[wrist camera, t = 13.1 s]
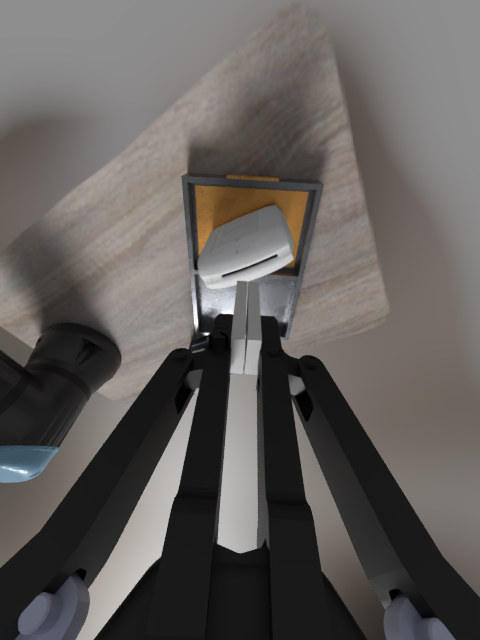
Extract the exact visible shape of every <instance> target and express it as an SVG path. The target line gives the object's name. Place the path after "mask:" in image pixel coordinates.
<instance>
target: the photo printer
mask: <svg viewBox="0 0 480 640" xmlns="http://www.w3.org/2000/svg"><path fill="white" fill-rule="evenodd" d="M293 250H294V241H293V237H292V235H291V232H290V229H289V227H288V224H287V221H286V219H285V216H284V214H283V212H282V210H281V209H280V208H278V207H277V205H270V206H267V207H264V208H261V209H258V210H256V211H253V212H251V213H249V214H246V215H244V216H241V217H239V218H237V219H234V220H232V221H230V222H228V223H225V224H223V225H221V226H219V227H217V228H216V229H214V230H213V231H212V232H211V233H210V235H209V237H208V239H207V241H206V244H205V246H204V248H203V250H202V252H201V254H200V256H199V258H198V270H199V274H200V277H201V278H202V279H203V281H204V283H205V285H206V286H207V287H208V288H210V289H221V288H226V287H231V286H235V285H237V281H247V282H248V281H251V280H254V279H257V278H260V277H262V276H265V275H267V274H269V273H272V272H274V271H276V270H278V269H280V268H282V267H284V266H285V265H287V264H288V263H290V262H291V261H293V259H294V258H293V255H292V253H293Z"/></svg>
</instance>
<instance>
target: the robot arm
mask: <svg viewBox="0 0 480 640" xmlns="http://www.w3.org/2000/svg"><path fill="white" fill-rule="evenodd" d="M246 302H247V311H246ZM245 332H246V343H245ZM206 338H207V348H206V349H205V350H203V351H200V352H196V353H192V352H191V351H190V350H188V349H186V348H179V349H175V350H173V351H172V352H171V353H170V354H169V355H168V356H167V358H166V359H165V360H164V362H163V363H162V365H161V366H160V367H159V369H158V370H157V371H156V373H155V374H154V376H153V377H152V378H151V380H150V381H149V382H148V384H147V385H146V387H145V388H144V389H143V391H142V392H141V393H140V395H139V396H138V397H137V399H136V400H135V402H134V403H133V404H132V406H131V407H130V409H129V410H128V411H127V413H126V414H125V415H124V417H123V418H122V420H121V421H120V422H119V424H118V425H117V426H116V428H115V429H114V430H113V432H112V433H111V435H110V436H109V437H108V439H107V440H106V441H105V443H104V444H103V446H102V447H101V448H100V450H99V451H98V453H97V454H96V455H95V456H94V458H93V459H92V461H91V462H90V463H89V465H88V466H87V468H86V469H85V470H84V472H83V473H82V474H81V476H80V477H79V478H78V480H77V481H76V483H75V484H74V485H73V487H72V488H71V489H70V491H69V492H68V494H67V495H66V496H65V498H64V499H63V500H62V502H61V503H60V504H59V506H58V507H57V509H56V510H55V511H54V513H53V514H52V516H51V517H50V518H49V520H48V521H47V522H46V524H45V525H44V526H43V528H42V529H41V531H40V532H39V533H38V534H36V535H35V536H34V537H33V538H32V539H31V540H30V541H29V542H28V543H27V544H26V545H25V546H24V547H22V548H21V549H20V550H19V551H18V552H17V553H16V554H15V555H14V556H13V557H12V558H11V559H10V560H9V561H8V562H6V563H5V564H4V565H3V566H2V567H1V568H0V640H75V639H76V638H77V636H78V634H79V632H80V630H81V628H82V626H83V625H84V623H85V620H86V617H87V614H88V610H89V605H90V597H89V592H88V588H89V587H90V585H91V584H92V583H93V581H94V579H95V578H96V577H97V575H98V574H99V572H100V571H101V569H102V568H103V566H104V565H105V563H106V562H107V560H108V558H109V556H110V554H111V553H112V551H113V549H114V547H115V545H116V544H117V542H118V540H119V538H120V536H121V534H122V532H123V530H124V528H125V526H126V524H127V522H128V520H129V518H130V516H131V514H132V513H133V511H134V509H135V507H136V505H137V503H138V501H139V499H140V497H141V495H142V493H143V491H144V489H145V487H146V485H147V483H148V482H149V480H150V478H151V476H152V474H153V472H154V470H155V468H156V466H157V464H158V462H159V460H160V458H161V456H162V454H163V452H164V450H165V448H166V447H167V445H168V443H169V441H170V439H171V437H172V435H173V433H174V431H175V429H176V427H177V425H178V423H179V421H180V419H181V417H182V415H183V413H184V411H185V409H186V408H187V406H188V404H189V402H190V400H191V398H192V396H193V394H194V392H195V390H196V389H197V388H199V391H198V396H197V401H196V406H195V411H194V416H193V421H192V426H191V431H190V436H189V441H188V446H187V451H186V456H185V461H184V465H183V470H182V475H181V480H180V486H179V490H178V493H177V495H176V497H175V498H174V501H173V504H172V509H171V513H170V518H169V523H168V527H167V532H166V537H165V541H164V546H163V551H162V556H161V557H160V558H159V559H158V560H157V561H156V562H155V563H154V564H153V565H152V566H151V567H150V568H149V569H148V570H147V571H146V572H145V574H144V575H143V577H142V578H141V579H140V580H139V581H138V583H137V584H136V585H135V587H134V588H133V589H132V591H131V592H130V593H129V595H128V596H127V597H126V599H125V600H124V601H123V602H122V604H121V605H120V606H119V608H118V609H117V610H116V611H115V613H114V614H113V615H112V617H111V618H110V619H109V620H108V622H107V623H106V624H105V626H104V627H103V629H102V630H101V631H100V632H99V633H98V635H97V636H96V637H95V639H94V640H368V639H367V638H366V636H365V635H364V633H363V632H362V630H361V629H360V627H359V626H358V624H357V622H356V621H355V619H354V618H353V616H352V615H351V613H350V612H349V610H348V609H347V607H346V606H345V604H344V602H343V601H342V599H341V598H340V596H339V595H338V593H337V591H336V590H335V589H334V587H333V585H332V584H331V582H330V581H329V580H328V578H327V577H326V576H325V575H324V573H323V572H322V571H321V565H320V558H319V552H318V546H317V539H316V533H315V526H314V520H313V516H312V511H311V508H310V506H309V505H308V503H307V501H306V497H305V491H304V484H303V477H302V470H301V463H300V456H299V449H298V442H297V435H296V429H295V421H294V414H293V408H292V400H293V403H294V405H295V407H296V410H297V412H298V415H299V417H300V419H301V422H302V424H303V427H304V429H305V431H306V434H307V436H308V439H309V441H310V443H311V446H312V448H313V451H314V453H315V455H316V458H317V460H318V462H319V465H320V467H321V470H322V472H323V474H324V477H325V479H326V481H327V484H328V486H329V489H330V491H331V494H332V496H333V498H334V501H335V503H336V505H337V508H338V510H339V513H340V515H341V518H342V520H343V522H344V525H345V527H346V529H347V532H348V534H349V537H350V539H351V541H352V544H353V546H354V549H355V551H356V553H357V556H358V558H359V560H360V563H361V565H362V567H363V569H364V571H365V573H366V576H367V578H368V580H369V582H370V583H371V585H372V587H373V589H374V591H375V593H376V595H377V596H378V598H379V600H380V602H381V603H382V605H383V607H384V608H385V610H386V612H385V614H384V631H385V635H386V639H387V640H480V597H479V596H478V595H477V594H476V593H475V592H474V591H473V590H472V588H471V587H470V586H469V585H468V584H467V583H466V582H465V581H464V580H463V579H462V577H461V576H460V575H459V574H458V573H457V572H456V571H455V570H454V568H453V567H452V566H451V565H450V564H449V563H448V562H447V561H446V560H445V558H444V557H443V556H442V554H441V553H440V551H439V550H438V548H437V546H436V545H435V543H434V542H433V540H432V538H431V537H430V535H429V534H428V532H427V530H426V529H425V527H424V525H423V524H422V522H421V521H420V519H419V517H418V516H417V514H416V513H415V511H414V509H413V508H412V506H411V505H410V503H409V501H408V500H407V498H406V496H405V495H404V493H403V492H402V490H401V488H400V487H399V485H398V484H397V482H396V480H395V479H394V477H393V476H392V474H391V473H390V471H389V469H388V468H387V466H386V464H385V463H384V461H383V460H382V458H381V456H380V455H379V453H378V451H377V450H376V448H375V447H374V445H373V443H372V442H371V440H370V438H369V437H368V436H367V434H366V432H365V430H364V429H363V427H362V426H361V424H360V423H359V421H358V419H357V417H356V416H355V415H354V413H353V411H352V409H351V408H350V406H349V405H348V403H347V401H346V400H345V398H344V397H343V395H342V393H341V392H340V390H339V389H338V387H337V385H336V384H335V382H334V381H333V379H332V377H331V376H330V374H329V372H328V371H327V369H326V368H325V366H324V364H323V363H322V362H321V361H320V360H319V359H318V358H316V357H314V356H310V355H305V356H302V357H301V358H300V359H297V358H293V357H291V356H289V355H287V354H286V353H285V352H284V350H283V349H282V347H281V340H280V333H279V326H278V321H277V320H276V318H275V317H274V316H261V314H260V294H259V282H252V281H249V285H248V298H247V281H237V286H236V296H235V305H234V314H218V315H217V317H216V318H215V322H214V326H213V331H212V332H211V333H209V334H208V336H207V337H206ZM244 349H245V374H255V375H257V372H258V378H257V385H256V390H257V441H258V442H257V444H258V445H257V447H258V448H257V449H258V529H257V549H255V550H252V551H248V552H245V553H236V552H234V551H232V550H230V549H227V548H225V547H223V546H221V545H218V544H217V540H218V524H219V509H220V496H221V484H222V471H223V459H224V447H225V434H226V421H227V409H228V397H229V384H230V373H240V374H242V373H243V361H244ZM120 364H121V356H120V353H119V351H118V349H117V348H116V346H115V345H114V344H113V343H112V342H111V341H110V340H109V339H108V338H106V337H105V336H104V335H102V334H101V333H99V332H97V331H95V330H93V329H91V328H89V327H86V326H82V325H79V324H73V323H61V324H56V325H53V326H51V327H50V328H48V329H47V330H46V331H45V332H44V333H43V334H42V335H41V336H40V337H39V339H38V340H37V343H36V347H35V348H34V350H33V352H32V354H31V356H30V358H29V360H28V362H27V364H26V365H25V367H22V366H21V365H20V364H19V363H17V362H16V361H15V360H14V359H12V358H11V357H10V356H9V355H7V354H6V353H5V352H3V351H2V350H1V349H0V482H22V481H27V480H30V479H32V478H34V477H36V476H37V475H38V474H40V472H42V471H43V469H44V468H45V467H46V465H47V464H48V462H49V461H50V460H51V458H52V457H53V456H54V454H55V453H56V452H57V451H58V450H59V446H60V445H61V443H62V441H63V440H64V438H65V437H66V435H67V433H68V432H69V430H70V428H71V427H72V425H73V424H74V422H75V421H76V419H77V417H78V416H79V414H80V413H81V411H82V409H83V408H84V406H85V405H86V403H87V401H88V400H89V398H90V397H91V395H92V394H93V393H94V392H96V391H97V390H98V389H99V388H100V387H101V386H102V385H103V384H104V383H105V382H107V381H108V380H110V379H111V378H112V377H113V376H114V375H115V373H116V372H117V370H118V368H119V367H120ZM291 398H292V400H291Z"/></svg>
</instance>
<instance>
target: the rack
mask: <svg viewBox="0 0 480 640" xmlns="http://www.w3.org/2000/svg"><path fill="white" fill-rule="evenodd" d="M323 185H324V184H322V183H320V182H319V181H311V180H294V179H279V178H278V177H272V176H256V175H239V174H227V175H209V174H192V173H187V174H185V175H183V176H182V187H183V199H184V210H185V221H186V233H187V244H188V255H189V267H190V278H191V290H192V301H193V312H194V324H195V335H208V334H209V333H211V332H212V331H213V326H214V322H215V318H216V317H217V315H218V314H234V305H235V296H236V286H237V285H235V286H231V287H226V288H221V289H210V288H208V287H207V286H206V285H205V283H204V281H203V279H202V278H201V277H200V274H199V270H198V258H199V256H200V254H201V252H202V250H203V248H204V246H205V244H206V241H207V239H208V237H209V235H210V233H211V232H212V231H213V230H214V229H216V228H217V227H219V226H221V225H223V224H225V223H228V222H230V221H232V220H234V219H237V218H239V217H241V216H244V215H246V214H249V213H251V212H253V211H256V210H258V209H261V208H264V207H267V206H270V205H277V207H278V208H280V209H281V210H282V212H283V214H284V216H285V219H286V221H287V224H288V227H289V229H290V232H291V235H292V237H293V241H294V250H293V253H292V255H293V258H294V259H293V261H291V262H290V263H288V264H287V265H285V266H284V267H282V268H280V269H278V270H276V271H274V272H272V273H269V274H267V275H265V276H262V277H260V278H257V279H254V280H251V281H252V282H259V294H260V314H261V316H274V317H275V318H276V320H277V321H278V326H279V333H280V340H288V339H289V335H290V330H291V326H292V321H293V317H294V313H295V308H296V304H297V299H298V295H299V290H300V286H301V282H302V277H303V273H304V268H305V264H306V260H307V255H308V251H309V246H310V242H311V238H312V233H313V229H314V224H315V220H316V216H317V211H318V207H319V202H320V198H321V194H322V189H323ZM248 285H249V281H248V282H247V298H248ZM246 311H247V302H246ZM245 338H246V332H245Z"/></svg>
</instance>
